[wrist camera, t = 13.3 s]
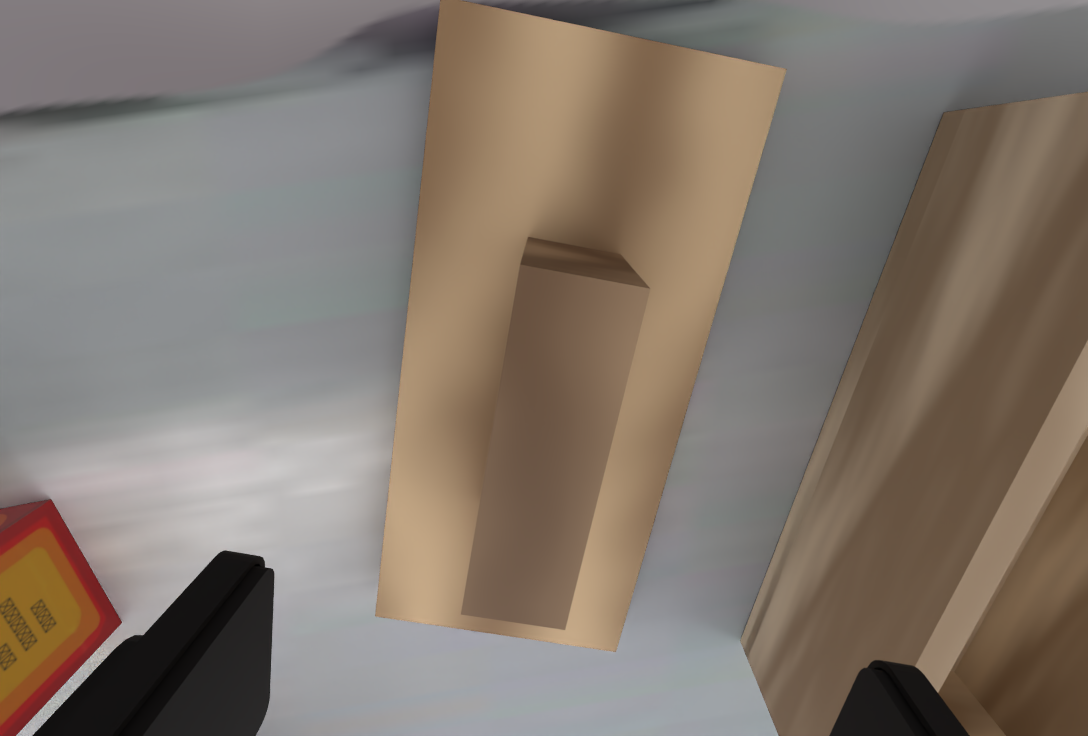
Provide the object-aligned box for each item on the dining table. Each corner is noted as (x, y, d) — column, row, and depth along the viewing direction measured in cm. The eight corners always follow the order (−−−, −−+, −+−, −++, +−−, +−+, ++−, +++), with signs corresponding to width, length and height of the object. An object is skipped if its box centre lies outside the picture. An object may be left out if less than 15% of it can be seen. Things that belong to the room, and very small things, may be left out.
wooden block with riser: (761, 79, 18) (900, 21, 11) (610, 615, 25) (635, 789, 18) (452, 14, 17) (387, -91, 10) (388, 582, 25) (324, 747, 18)
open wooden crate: (1231, 172, 18) (1701, 174, 11) (951, 672, 26) (1118, 881, 18) (943, 112, 18) (1229, 71, 10) (740, 640, 25) (821, 842, 18)
